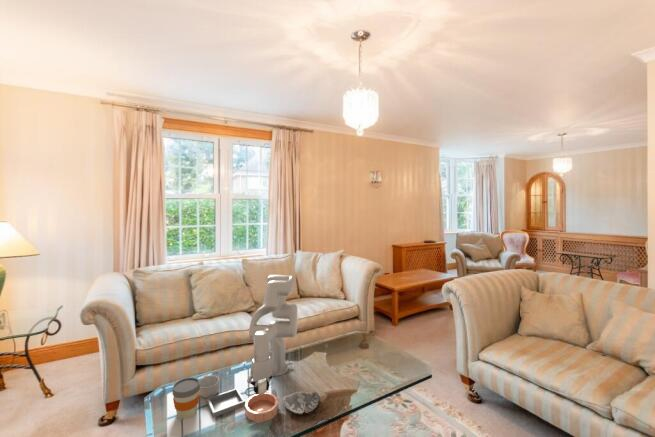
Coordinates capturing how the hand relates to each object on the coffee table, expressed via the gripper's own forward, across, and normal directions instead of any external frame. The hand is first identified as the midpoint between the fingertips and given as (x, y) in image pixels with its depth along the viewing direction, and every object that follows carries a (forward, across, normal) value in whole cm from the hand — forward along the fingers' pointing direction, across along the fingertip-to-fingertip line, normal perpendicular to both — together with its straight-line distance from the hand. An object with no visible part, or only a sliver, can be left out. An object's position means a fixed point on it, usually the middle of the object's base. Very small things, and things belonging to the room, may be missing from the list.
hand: (261, 390), depth 161 cm
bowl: (+11, 0, 0) cm, 11 cm away
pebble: (0, 0, 0) cm, 0 cm away
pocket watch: (+11, -2, -17) cm, 21 cm away
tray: (+11, +14, -14) cm, 23 cm away
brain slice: (+12, -19, +8) cm, 24 cm away
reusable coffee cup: (+11, +32, -19) cm, 39 cm away
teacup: (+11, +19, -29) cm, 36 cm away
